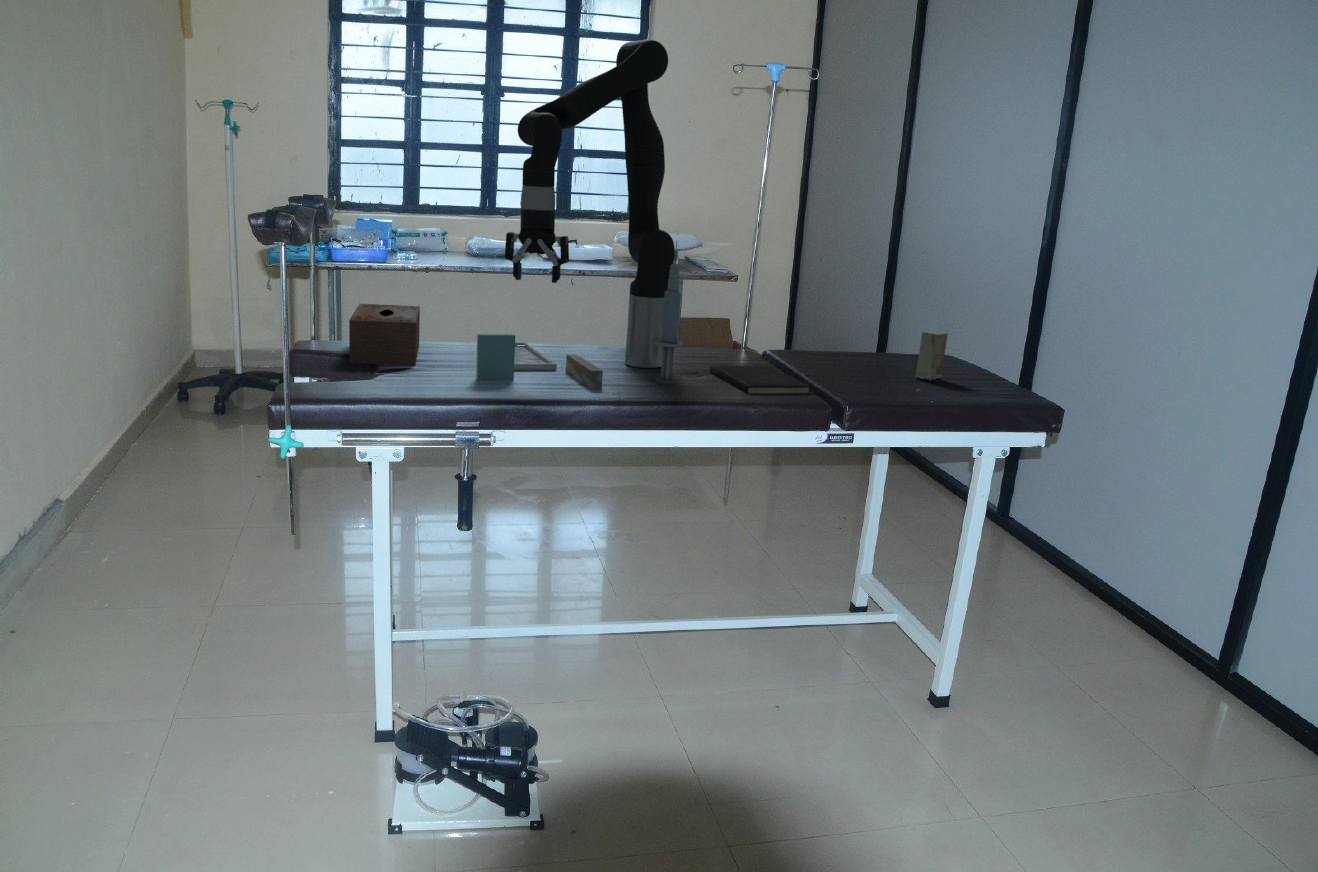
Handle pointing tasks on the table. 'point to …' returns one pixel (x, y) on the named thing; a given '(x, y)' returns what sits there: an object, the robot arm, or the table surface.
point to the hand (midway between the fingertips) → (536, 281)
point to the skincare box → (931, 355)
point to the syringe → (670, 325)
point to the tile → (495, 357)
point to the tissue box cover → (384, 334)
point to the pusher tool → (584, 371)
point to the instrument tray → (531, 359)
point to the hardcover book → (758, 379)
